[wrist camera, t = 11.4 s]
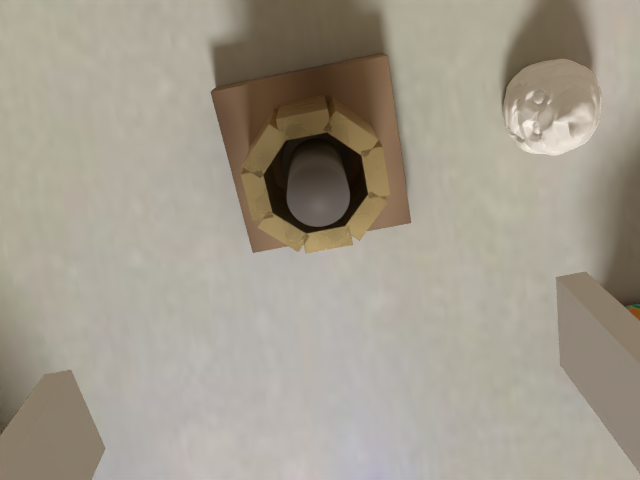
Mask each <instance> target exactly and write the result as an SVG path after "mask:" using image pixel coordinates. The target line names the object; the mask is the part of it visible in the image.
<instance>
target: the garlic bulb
mask: <svg viewBox="0 0 640 480" xmlns="http://www.w3.org/2000/svg"><path fill="white" fill-rule="evenodd" d="M601 111H602V95H601V89H600V87H599V84H598V82H597V79H596V77H595V75H594V73H593V72H592V71H591V70H590V69H588V68H587V67H585V66H584V65H580V64H578V63H576V62H574V61H572V60H568V59H556V60H548V61H542V62H539V63H535V64H531V65H529V66H527V67H525V68H523V69H522V70H521V71H520V72H519V73H518V74H517V75H516V76H515V77H513V79H512V80H511V81H510V83H509V84H508V86H507V89H506V96H505V99H504V104H503V117H504V122H505V126H506V130H507V133H508V134H509V135H510V136H511V137H512V139H513V140H514V141H515V143H516V144H517V145H518V146H519V147H520V148H521V149H522V150H524V151H526V152H530V153H538V154H539V153H540V154H541V153H542V154H547V155H551V156H555V155H560V154H562V153H564V152H567V151H569V150H572V149H574V148H577V147H579V146H580V145H582V144H584V143H586V142H587V141H588V140H589V139H590V137H591V136H592V135H593V133H594V132H595V130H596V128H597V126H598V123H599V120H600V116H601Z"/></svg>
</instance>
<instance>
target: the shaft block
mask: <svg viewBox="0 0 640 480" xmlns="http://www.w3.org/2000/svg"><path fill="white" fill-rule="evenodd" d="M211 95H212V99H213V103H214V107H215V110H216V114H217V118H218V122H219V126H220V130H221V133H222V137H223V141H224V145H225V149H226V152H227V156H228V160H229V164H230V168H231V171H232V175H233V179H234V183H235V187H236V191H237V194H238V198H239V202H240V206H241V210H242V213H243V217H244V221H245V225H246V229H247V232H248V236H249V240H250V244H251V248H252V251H253V253H255V252H260V251H265V250H270V249H276V248H281V247H286V246H287V245H286V244H284V243H282V242H281V241H279V240H277V239H276V238H274V237H272V236H271V235H269V234H267V233H266V232H264V231H262V230H261V229H259V228H257V226H258V222H259V220H257V221H252V217H251V213H250V209H249V205H248V201H247V197H246V193H245V190H244V186H243V182H242V178H241V172H242V170H243V167H242V165H243V163H244V160H245V158H246V155H247V153H248V150H249V148H250V146H251V144H252V142H253V140H254V139H255V137H256V136H257V134H258V133H259V131H260V129H261V128H262V126H263V125H264V123H265V122H266V120H267V118H268V117H269V115H270V114H271V112H272V111H273V109H274V108H276V109H277V110H279V106H280V103H285V102H290V101H295V100H300V99H305V98H310V97H315V96H320V95H325V99H326V104H327V102H328V101H329V99H330V98H331V96H332V97H334V98H335V99H337V100H338V101H339V102H341V103H342V104H344V105H345V106H347V107H348V108H350V109H351V110H352V111H354V112H355V113H357V114H358V115H360V116H361V117H363V118H364V119H366V120H367V121H368V122H369V124H370V126H371V127H372V128H373V130H374V132H375V134H376V135H377V137H378V139H379V141H380V143H381V144H382V146H383V151H384V158H385V164H386V171H387V177H388V184H389V190H390V195H387V196H386V198H387V201H388V203H387V205H386V206H385V207H384V209H383V210H382V211H381V213H380V214H379V215H378V217H377V218H376V219H375V221H374V222H373V223H372V225H371V226H370V227H369V229H368V230H367V231H371V230H376V229H381V228H386V227H392V226H397V225H402V224H408V223H411V218H410V211H409V204H408V197H407V190H406V183H405V176H404V169H403V162H402V155H401V148H400V141H399V134H398V127H397V120H396V113H395V106H394V99H393V92H392V85H391V78H390V71H389V64H388V57H387V55H385V54H383V53H381V54H376V55H371V56H366V57H361V58H356V59H352V60H347V61H342V62H337V63H332V64H327V65H322V66H318V67H313V68H308V69H303V70H298V71H293V72H288V73H284V74H279V75H274V76H269V77H264V78H259V79H254V80H249V81H245V82H240V83H235V84H230V85H225V86H220V87H216V88H215V89H213V90H212V91H211ZM272 166H273V170H274V175H275V179H276V183H277V186H279V187H281V188H282V189H284V190H285V191H287V204H288V207H289V209H290V211H291V213H292V214H293V215H294V217H295V218H296V219H297V220H299V221H300V222H302V223H304V224H306V225H309V226H314V227H322V226H327V225H330V224H332V223H334V222H336V221H337V220H339V219H340V218H341V217H342V216H343V215H344V213H345V212H346V210H347V208H348V205H349V201H350V191H349V187H348V185H349V183H350V182H351V180H352V179H353V178H354V176H355V175H356V173H357V172H358V171H359V163H358V157H357V152H356V151H354V150H353V149H351V148H350V147H348V146H347V145H345V144H344V143H342V142H341V141H339V140H338V139H336V138H335V137H333V136H332V135H330V134H329V133H327V132H326V133H321V134H316V135H311V136H306V137H301V138H296V139H291V140H286V141H285V142H284V144H283V145H282V147H281V148H280V150H279V151H278V153H277V154H276V156H275V158H274V159H273V161H272Z"/></svg>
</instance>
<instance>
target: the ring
mask: <svg viewBox="0 0 640 480" xmlns="http://www.w3.org/2000/svg"><path fill="white" fill-rule="evenodd" d="M326 132H327V133H329V134H330V135H332V136H333V137H335V138H336V139H338V140H339V141H341V142H342V143H344V144H345V145H347V146H348V147H350V148H351V149H353V150H354V151H356V152H357V157H358V163H359V171H358V172H357V173H356V175H355V176H354V178H353V179H352V180H351V182H350V183H349V185H348V187H349V191H350V201H349V205H348V208H347V210H346V212H345V213H344V215H343V216H342V217H341V218H340V219H339V220H337V221H336V222H334V223H332V224H330V225H327V226H322V227H314V226H309V225H306V224H304V223H302V222H300V221H299V220H297V219H296V218H295V217H294V215H293V214H292V213H291V211H290V209H289V207H288V204H287V191H285V190H284V189H282V188H281V187H279V186H277V183H276V179H275V175H274V170H273V166H272V161H273V159H274V158H275V156H276V154H277V153H278V151H279V150H280V148H281V147H282V145H283V144H284V142H285V141H286V140H291V139H296V138H301V137H306V136H311V135H316V134H321V133H326ZM242 167H243V170H242V172H241V178H242V182H243V186H244V190H245V193H246V197H247V201H248V205H249V209H250V213H251V217H252V221H257V220H259V222H258V226H257V228H259V229H261V230H262V231H264V232H266V233H267V234H269V235H271V236H272V237H274V238H276V239H277V240H279V241H281V242H282V243H284V244H286V245H287V246H289V247H291V248H292V249H294V250H296V251H297V252H299V250H300V249H301V248H302V246H303V245H304V247H305V252H306V253H311V252H316V251H322V250H327V249H332V248H338V247H343V246H348V245H353V242H352V237H351V236H353V237H355V238H356V239H358V240H359V241H360V239H361V238H362V237H363V235H364V234H365V233H366V231H367V230H368V229H369V227H370V226H371V225H372V223H373V222H374V221H375V219H376V218H377V217H378V215H379V214H380V213H381V211H382V210H383V209H384V207H385V206H386V205H387V203H388V201H387V198H386V196H387V195H390V190H389V184H388V177H387V171H386V164H385V158H384V151H383V146H382V144H381V143H380V141H379V139H378V137H377V135H376V134H375V132H374V130H373V128H372V127H371V126H370V124H369V122H368V121H367V120H366V119H364V118H363V117H361V116H360V115H358V114H357V113H355V112H354V111H352V110H351V109H350V108H348V107H347V106H345V105H344V104H342V103H341V102H339V101H338V100H337V99H335V98H334V97H332V96H331V98H330V99H329V101H328V102H327V104H326V99H325V95H320V96H315V97H310V98H305V99H300V100H295V101H290V102H285V103H280V106H279V110H277V109H276V108H274V109H273V111H272V112H271V114H270V115H269V117H268V118H267V120H266V122H265V123H264V125H263V126H262V128H261V129H260V131H259V133H258V134H257V136H256V137H255V139H254V140H253V142H252V144H251V146H250V148H249V150H248V153H247V155H246V158H245V160H244V163H243V165H242Z"/></svg>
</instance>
